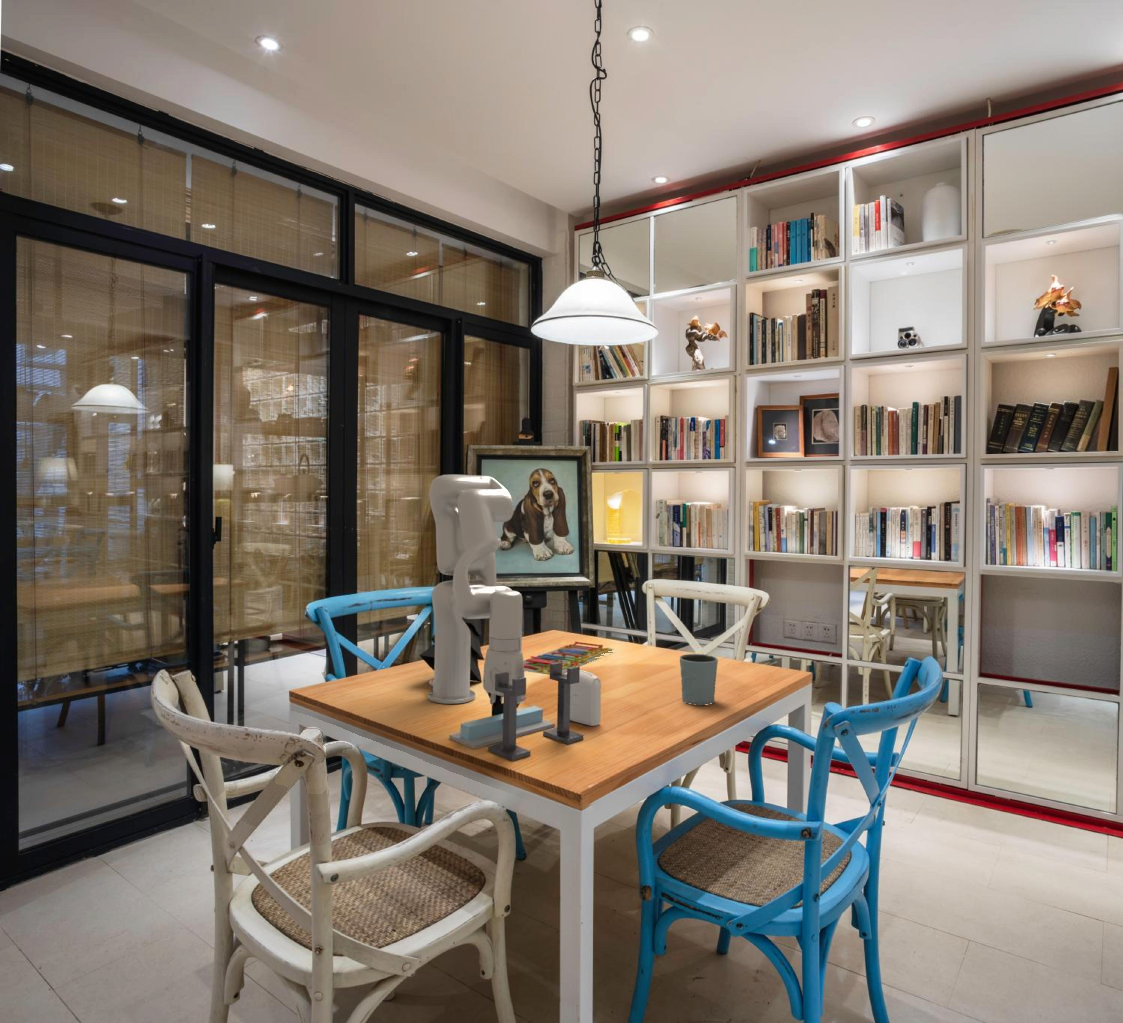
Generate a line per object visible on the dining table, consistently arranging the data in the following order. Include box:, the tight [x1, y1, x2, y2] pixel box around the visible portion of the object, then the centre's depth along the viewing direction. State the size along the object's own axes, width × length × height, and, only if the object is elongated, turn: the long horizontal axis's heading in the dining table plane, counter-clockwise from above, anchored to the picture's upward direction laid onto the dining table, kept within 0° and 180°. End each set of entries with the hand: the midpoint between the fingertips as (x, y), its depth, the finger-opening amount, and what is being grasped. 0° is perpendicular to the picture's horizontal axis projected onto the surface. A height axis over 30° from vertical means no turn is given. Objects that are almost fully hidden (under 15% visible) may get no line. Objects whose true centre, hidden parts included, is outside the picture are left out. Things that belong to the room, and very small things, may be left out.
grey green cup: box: [679, 653, 719, 706], centre depth 201 cm, size 10×10×12 cm
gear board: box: [523, 641, 614, 676], centre depth 251 cm, size 45×2×19 cm
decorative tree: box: [419, 617, 485, 683], centre depth 221 cm, size 15×15×35 cm
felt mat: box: [449, 719, 556, 750], centre depth 171 cm, size 9×24×1 cm, turn 134°
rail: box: [459, 705, 544, 741], centre depth 171 cm, size 3×22×3 cm, turn 134°
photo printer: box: [565, 669, 602, 727], centre depth 181 cm, size 10×4×12 cm, turn 47°
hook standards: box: [487, 662, 584, 762], centre depth 163 cm, size 8×21×16 cm, turn 134°
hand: (503, 722), depth 171 cm, fingers open, 3 cm apart
